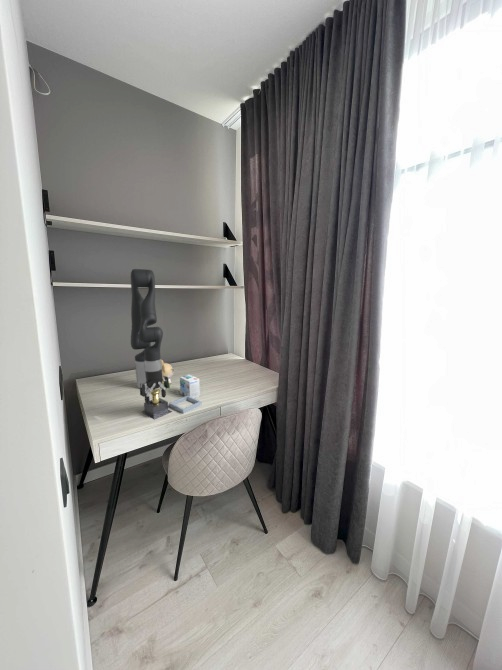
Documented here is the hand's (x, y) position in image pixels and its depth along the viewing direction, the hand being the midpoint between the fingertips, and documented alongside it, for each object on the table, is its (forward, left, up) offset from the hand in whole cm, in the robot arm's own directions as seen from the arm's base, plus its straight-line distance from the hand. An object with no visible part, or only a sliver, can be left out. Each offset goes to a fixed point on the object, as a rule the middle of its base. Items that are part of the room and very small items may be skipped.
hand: (155, 400), depth 132 cm
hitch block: (0, 0, -7) cm, 7 cm away
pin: (0, 0, -6) cm, 6 cm away
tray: (+6, +13, -7) cm, 16 cm away
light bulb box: (-4, +24, -8) cm, 25 cm away
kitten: (-29, +25, -8) cm, 39 cm away
